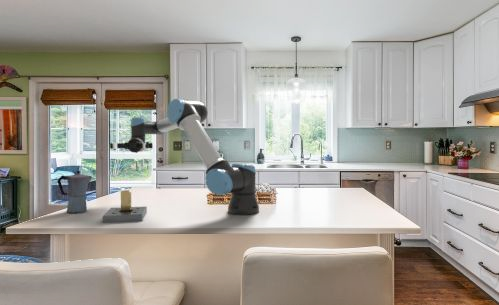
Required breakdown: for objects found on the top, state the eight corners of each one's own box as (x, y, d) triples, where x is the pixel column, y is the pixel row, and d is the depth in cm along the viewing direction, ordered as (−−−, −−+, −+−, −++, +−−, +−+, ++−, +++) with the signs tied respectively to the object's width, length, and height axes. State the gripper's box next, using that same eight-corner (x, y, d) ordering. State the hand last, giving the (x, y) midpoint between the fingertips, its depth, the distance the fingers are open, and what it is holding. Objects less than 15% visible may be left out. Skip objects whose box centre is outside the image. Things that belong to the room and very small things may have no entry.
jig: (146, 212, 153) (146, 206, 153) (142, 220, 137) (142, 214, 137) (111, 214, 150) (111, 207, 150) (102, 222, 134) (102, 215, 134)
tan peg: (132, 215, 146) (131, 190, 146) (130, 218, 142) (130, 191, 141) (122, 216, 146) (121, 190, 145) (120, 218, 141) (119, 191, 141)
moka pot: (96, 210, 158) (95, 170, 157) (62, 216, 146) (60, 172, 146) (89, 207, 164) (88, 169, 163) (55, 212, 153) (54, 171, 152)
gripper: (159, 152, 175) (155, 153, 154) (111, 152, 170) (100, 154, 150) (159, 138, 175) (155, 138, 154) (111, 138, 170) (100, 138, 149)
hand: (128, 146), depth 152 cm, fingers open, 13 cm apart
